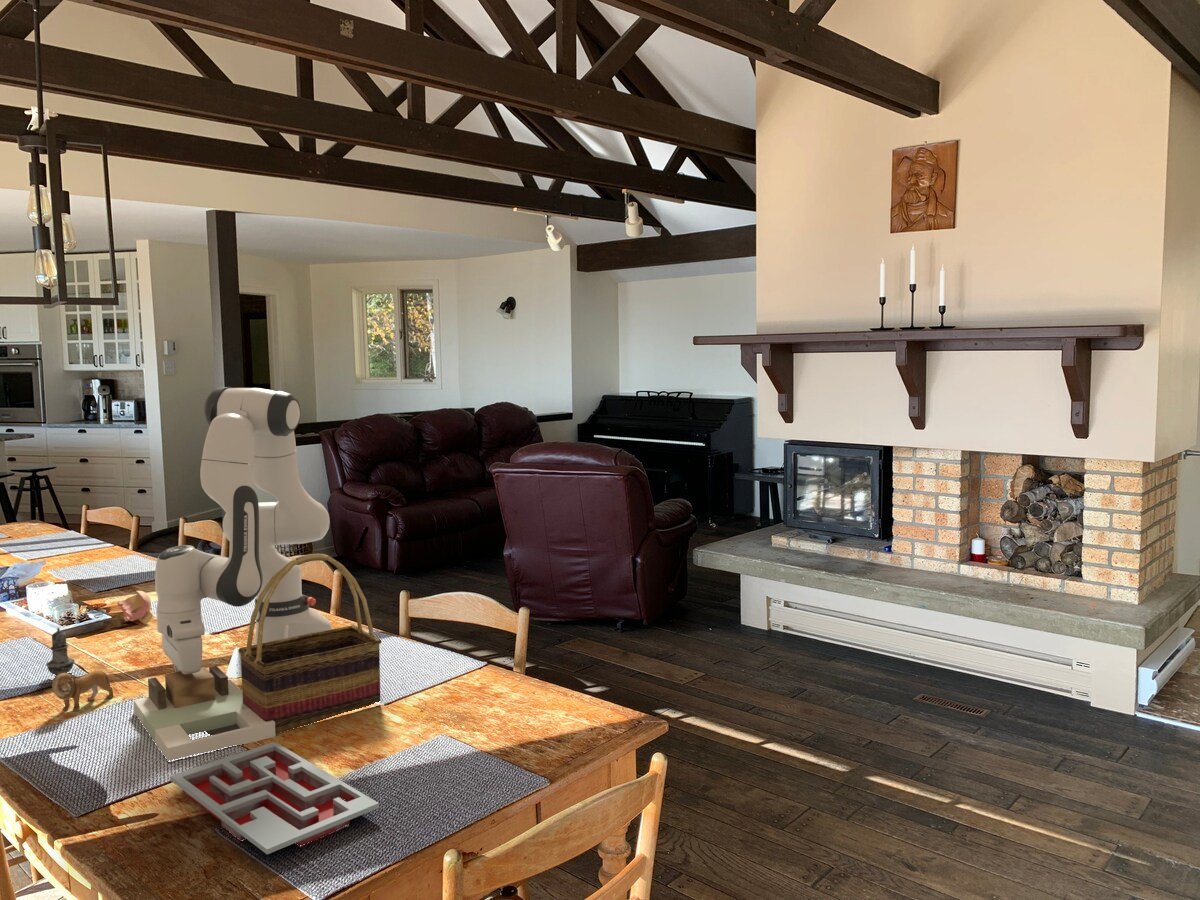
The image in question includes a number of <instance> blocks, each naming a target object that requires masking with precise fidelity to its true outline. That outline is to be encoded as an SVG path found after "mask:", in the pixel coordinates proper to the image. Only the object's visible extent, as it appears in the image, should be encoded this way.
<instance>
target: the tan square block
mask: <svg viewBox="0 0 1200 900" xmlns="http://www.w3.org/2000/svg"><path fill="white" fill-rule="evenodd" d="M164 680H165V682H164V683H165V689H166V697H167V699H168V700H169V701H170V702H171V704H172V705H173V706H174V708H178V707H182V706H187V705H192V704H196V703H201V702H206V701H210V700H215V683H214V676H213V675H212V674H211V673H210V672H209V669H207V668H206V666H201V669H200V671H199V672H196V673H191V674H183V673H182V672H181V671H179V672H175V671H174V672H169V673H165V674H164Z"/></svg>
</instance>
